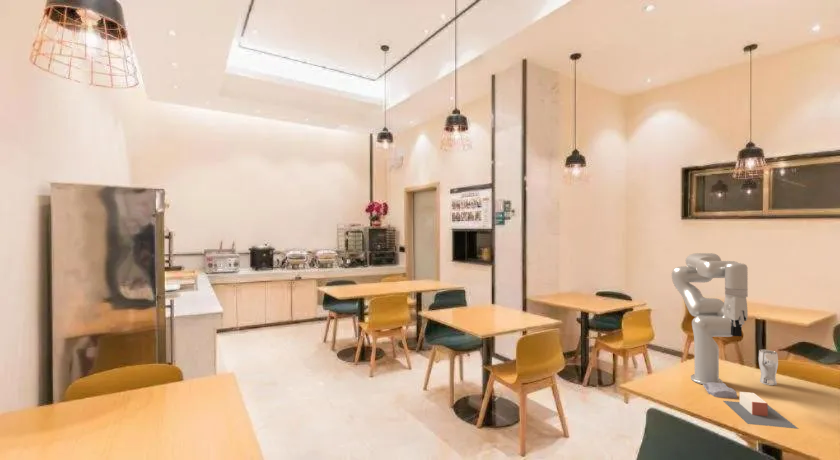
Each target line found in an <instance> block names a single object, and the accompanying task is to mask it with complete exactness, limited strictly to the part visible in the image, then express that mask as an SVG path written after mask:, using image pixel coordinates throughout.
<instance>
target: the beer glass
mask: <svg viewBox="0 0 840 460" xmlns="http://www.w3.org/2000/svg"><path fill="white" fill-rule="evenodd" d="M758 366H759V371H760V378H759V382H760V383H761V384H763V385H767V386H773V385H774V386H777V385H778V383H777V378H776V377H777V370H778V367H779V357H778V352H777V351H775V350H770V349H759V350H758Z"/></svg>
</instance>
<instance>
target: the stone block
mask: <svg viewBox="0 0 840 460" xmlns="http://www.w3.org/2000/svg"><path fill="white" fill-rule="evenodd" d="M702 385H703V388H704V389H705V390H706V392H707V394H708V395H711V396H713V397H715V398H726V399H727V398H728V399H737V398H738V393H737V390H735V389H734V388H732V387H728V386H727V384H726V383H724V382H723V384H721V383H715V382H709V383H705V384H702Z"/></svg>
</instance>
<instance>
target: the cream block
mask: <svg viewBox="0 0 840 460" xmlns="http://www.w3.org/2000/svg"><path fill="white" fill-rule="evenodd" d="M739 402H740V404H741V405H742V406H743V407H744V408H745V409H747V410H748V411H749V412H750V413H751V414H752V415H761V416H768V402H766V401H765V400H764V399H762V398H761V397H760V396H759V395H757V394H756V393H754V392H749V391H748V392H746V391H739Z"/></svg>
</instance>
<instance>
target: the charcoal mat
mask: <svg viewBox="0 0 840 460" xmlns="http://www.w3.org/2000/svg"><path fill="white" fill-rule="evenodd" d="M722 402H723V403H725V405H727V406H728V407H729V408H730V409H731V410H732V411H733V413H735V414H736V415H737V416H738V417H739V418H741V419H742V420H743V421H744V422H745V423H746V424H747V425H757V426H767V427H775V428H776V427H777V428H785V429H787V428H789V429H797V430H798V429H799V427H797V425H795V424H793V423H792V422H791V421H790V420H788V419H787V418H785V417H784V416H783V415H782V414H780V413H779V412H778V411H776V409H774V408H773V407H771V406H770V405H768V416H761V415H752V414H751V413H750V412H749V411H748V410H747V409H745V408H744V407H743V406H742V405H741V404H740V401H731V400H730V401H729V400H722Z"/></svg>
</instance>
